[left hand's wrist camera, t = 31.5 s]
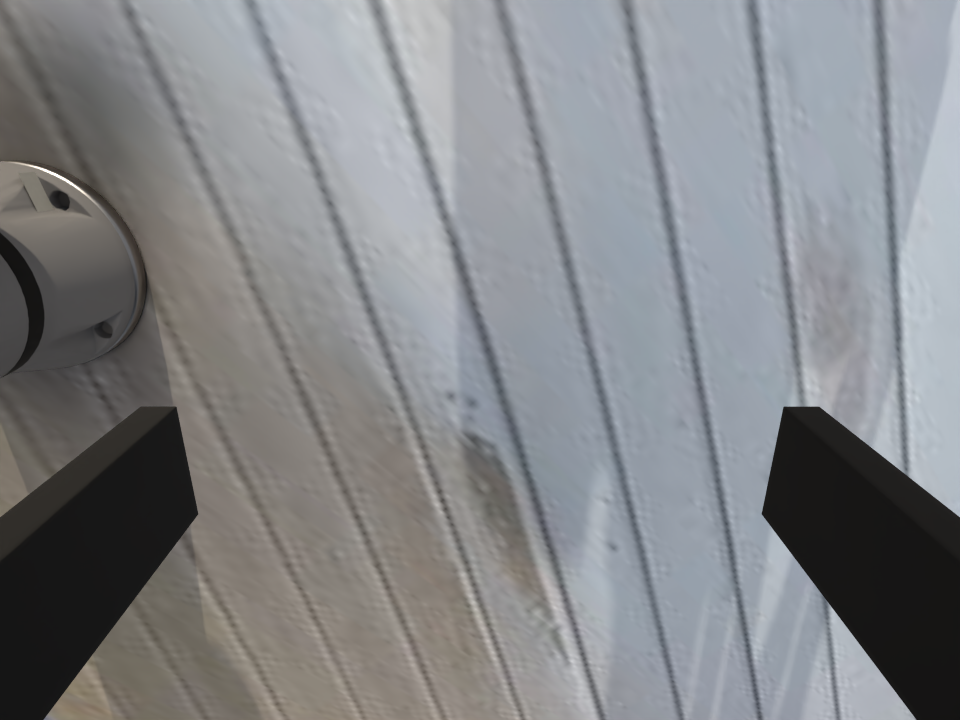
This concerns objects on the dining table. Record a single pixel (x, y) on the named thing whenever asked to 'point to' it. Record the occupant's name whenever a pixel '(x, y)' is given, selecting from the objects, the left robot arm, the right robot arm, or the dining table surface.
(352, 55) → the dining table surface
